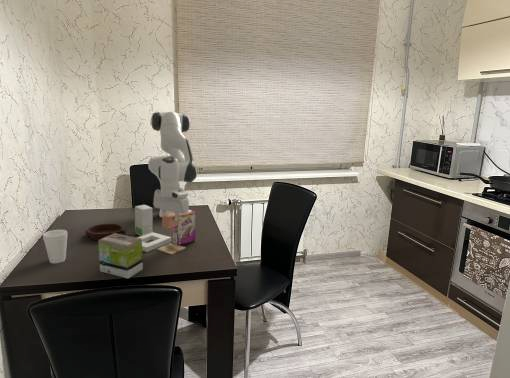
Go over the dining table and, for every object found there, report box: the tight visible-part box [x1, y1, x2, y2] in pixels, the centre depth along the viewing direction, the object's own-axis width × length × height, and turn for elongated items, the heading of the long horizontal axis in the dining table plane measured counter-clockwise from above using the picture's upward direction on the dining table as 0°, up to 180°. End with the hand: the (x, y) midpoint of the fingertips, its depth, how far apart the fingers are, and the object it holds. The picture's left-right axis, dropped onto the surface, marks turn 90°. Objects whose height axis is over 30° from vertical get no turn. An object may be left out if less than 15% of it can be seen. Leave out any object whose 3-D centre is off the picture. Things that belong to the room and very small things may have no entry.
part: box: [161, 213, 179, 229], centre depth 176 cm, size 7×4×6 cm, turn 149°
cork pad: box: [156, 242, 187, 255], centre depth 180 cm, size 10×10×1 cm
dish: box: [84, 223, 127, 241], centre depth 194 cm, size 18×22×5 cm
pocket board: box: [137, 231, 173, 253], centre depth 186 cm, size 17×14×2 cm
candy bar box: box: [172, 209, 197, 246], centre depth 188 cm, size 11×5×16 cm, turn 135°
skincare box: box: [134, 204, 153, 237], centre depth 199 cm, size 8×7×16 cm
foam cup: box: [42, 229, 68, 264], centre depth 161 cm, size 10×9×13 cm
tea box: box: [97, 233, 144, 279], centre depth 153 cm, size 15×10×15 cm, turn 69°
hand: (170, 219), depth 176 cm, fingers closed on part, 4 cm apart
